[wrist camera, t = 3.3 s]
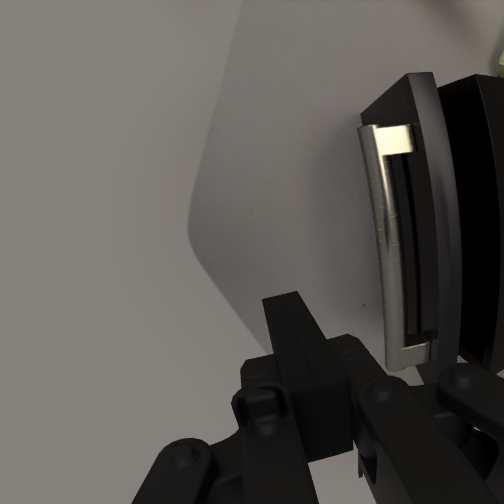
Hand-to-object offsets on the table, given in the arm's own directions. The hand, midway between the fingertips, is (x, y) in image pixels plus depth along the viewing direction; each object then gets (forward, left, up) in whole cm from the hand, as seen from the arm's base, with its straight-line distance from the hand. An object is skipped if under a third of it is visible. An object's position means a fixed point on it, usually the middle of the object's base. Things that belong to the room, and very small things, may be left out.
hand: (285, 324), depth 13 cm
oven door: (0, +11, -15) cm, 19 cm away
